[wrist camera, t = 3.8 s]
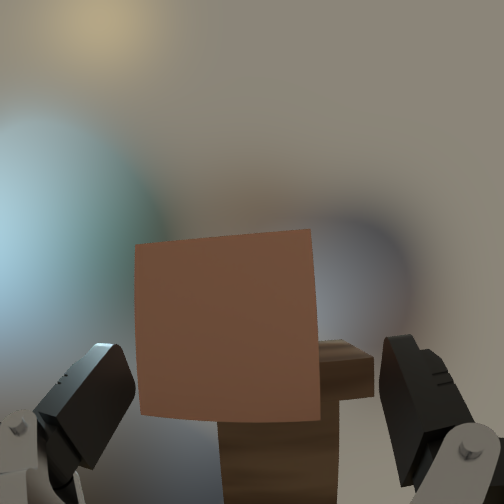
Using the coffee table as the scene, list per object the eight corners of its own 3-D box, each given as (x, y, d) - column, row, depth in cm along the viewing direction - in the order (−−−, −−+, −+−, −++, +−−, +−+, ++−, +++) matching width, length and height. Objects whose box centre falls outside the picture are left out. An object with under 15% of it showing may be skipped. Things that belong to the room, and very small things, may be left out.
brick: (320, 420, 6) (310, 228, 7) (140, 414, 6) (135, 244, 7) (308, 342, 27) (306, 297, 28) (263, 345, 28) (260, 300, 29)
